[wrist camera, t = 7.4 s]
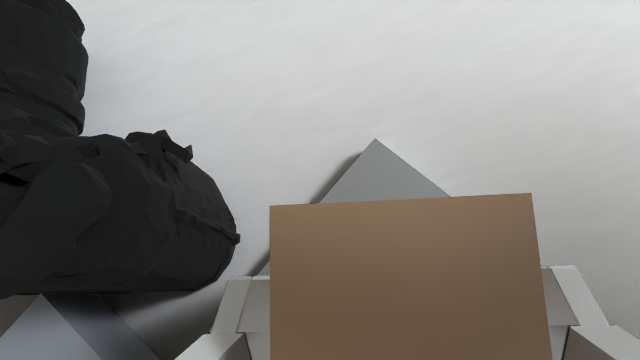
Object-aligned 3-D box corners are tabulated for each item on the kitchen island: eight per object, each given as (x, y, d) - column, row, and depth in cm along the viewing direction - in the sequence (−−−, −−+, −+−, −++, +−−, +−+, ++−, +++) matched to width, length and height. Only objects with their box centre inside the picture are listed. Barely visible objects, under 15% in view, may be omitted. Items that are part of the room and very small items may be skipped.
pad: (578, 304, 15) (591, 304, 15) (413, 519, 15) (414, 534, 14) (375, 147, 17) (375, 138, 16) (218, 329, 17) (208, 331, 16)
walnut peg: (468, 390, 14) (569, 490, 7) (328, 391, 15) (270, 487, 7) (455, 248, 15) (531, 193, 8) (324, 253, 16) (269, 205, 8)
